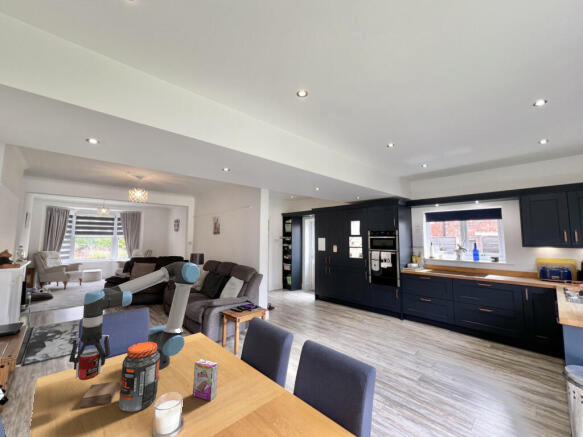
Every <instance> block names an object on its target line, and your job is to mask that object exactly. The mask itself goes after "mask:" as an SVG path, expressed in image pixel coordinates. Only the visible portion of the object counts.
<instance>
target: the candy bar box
mask: <svg viewBox="0 0 583 437" xmlns="http://www.w3.org/2000/svg"><path fill="white" fill-rule="evenodd" d="M218 368H219V362H215V361H211V360H206V359H203V358H200V359H198V360H197V361H195V362H194V368H193V369H194V372H193V384H192V386H193V388H192V397H196V398H198V399H202V400H205V401H208V400H210V401H209V402H211V401H213V400H214V399H215V398H216V397H217V389H218V388H217V386H218ZM215 396H216V397H215ZM214 397H215V398H214Z"/></svg>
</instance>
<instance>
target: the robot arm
mask: <svg viewBox="0 0 583 437" xmlns="http://www.w3.org/2000/svg"><path fill="white" fill-rule="evenodd" d="M200 275H201V270H200V267H199V266H198V264H196V263H193V262H185V261H177V262H172V263H169V264H168V265H164V266H162V267H161V268H160V269H158V270H156V271H154V272H153V271H152V272H151V273H148V274H145V275H142V276H139V277H136V278H135V279H132V280H128V281H126V282H123V283H121V284H118V285H115V286H112V287H104V288H102V289H101V290H92V291H89V292H87V293H85V294H84V300H83V315H82V324H81V325H82V327H81V336H80V337H76V338H74V339H73V340H72V348H71V352H70V355H69V356H70V357H69V359H68V362H69V363H73V370H75V378H79V377H78V375H79V360H80V354H82V353H83V352H84V351H85V350H86V348H87V347H88V346H94V348H97V351H98V352H99V355H100V359H99V369H98V375H101V373H102V371H103V366H104V365H106V364H105V363H106V358H108V357H109V356H110V354H111V348H110V341H109V339H110V334H108V333H107V334H103V319H104V311H105V310H106V311H107V310H111V309H117V308H121V307H122V308H123V307H127V306H130V305H131V303H132V301H133V294H134V293H138V292H140V291H143V290H145V289H147V288H150V287H152V286H155V285H157V284H160V283H162V282H169V281H173V280H174V285H175V290H174V294H173V298H172V302H171V307H170V310H169V314H168V319H167V323H166V324H164V325H163V324H161V325H157V326H156V325H155V326H153V327H151V328H150V329H149V330H148V334H147V342H154V343H156V344H157V351H158V352H159V355H160V361H159V371H160V370H162V369H164V368H167V367H168V366H169V365H170V364H171V357H172V356H173V357H174V356H177V355H178V354H179V353H180V352H181V351H182V350H183V348H184V347H185V342H186V341H185V337H184V336H183V334H184V329H183V324H184V319H185V313H186V309H187V306H188V300H189V297H190V292H191V289H192V287H193V286H194V285H195V282H197V280H199V279H200ZM101 339H102V341H103V346H104V348H103V346H102V344H101V343H102V342H101ZM80 342H81V343H82V345H81V347H80V349H79V352H78V353H77V350H78V347H79V343H80ZM76 354H77V355H76Z"/></svg>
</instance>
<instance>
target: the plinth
mask: <svg viewBox="0 0 583 437" xmlns="http://www.w3.org/2000/svg"><path fill="white" fill-rule="evenodd" d="M119 383H120V382H119V381H118V380H115V381H110V382H103V383H102V382H101V383H96V384H91V385H90V387H89V389H88V390H86V393H85V394H84V396H83V397H82V398H81V400H80V405H79V408H80V409H81V408H87V407H88V408H89V407H93V406H99V405H104V404H105V405H106V404H109V403H112V402H113V400H114V398H115V396H116V394H117V392H118V390H119V388H120V384H119Z"/></svg>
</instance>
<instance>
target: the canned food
mask: <svg viewBox="0 0 583 437" xmlns="http://www.w3.org/2000/svg"><path fill="white" fill-rule="evenodd" d="M100 358H101V357H100V355H99V352H98V351H97V348H96V347H94V348H88V349H85V350H84V352H83V353H82V354H80V359H79V375H78V377H77V378H78V379H79V380H80V381H88V380H92V379H94V378H96V377H97V376H99V374H98V369H99V359H100Z"/></svg>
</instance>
